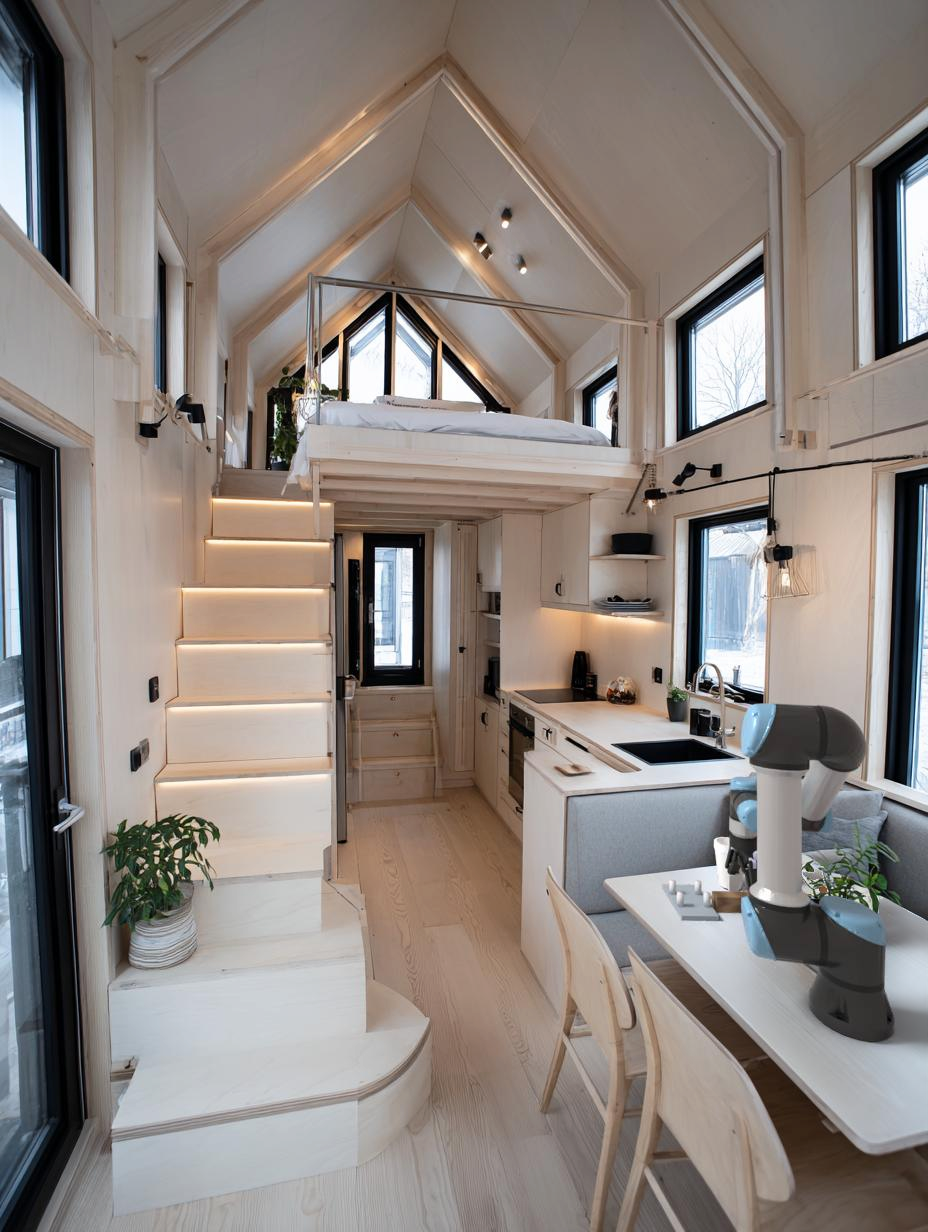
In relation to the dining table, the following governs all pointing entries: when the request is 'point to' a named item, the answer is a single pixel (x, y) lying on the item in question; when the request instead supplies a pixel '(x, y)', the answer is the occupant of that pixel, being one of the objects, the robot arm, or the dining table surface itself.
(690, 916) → the rack
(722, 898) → the wooden toy mallet
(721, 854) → the foam cup
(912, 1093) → the dining table surface
